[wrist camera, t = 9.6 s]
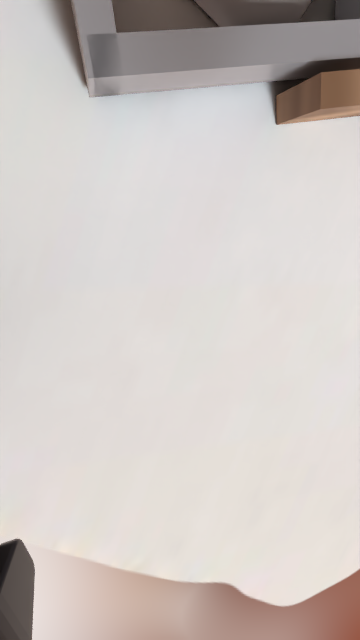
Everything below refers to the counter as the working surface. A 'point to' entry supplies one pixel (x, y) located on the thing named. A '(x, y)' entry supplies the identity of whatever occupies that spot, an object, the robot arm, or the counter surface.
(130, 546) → the counter surface
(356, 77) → the lane rails
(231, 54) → the sliding frame
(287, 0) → the flask
